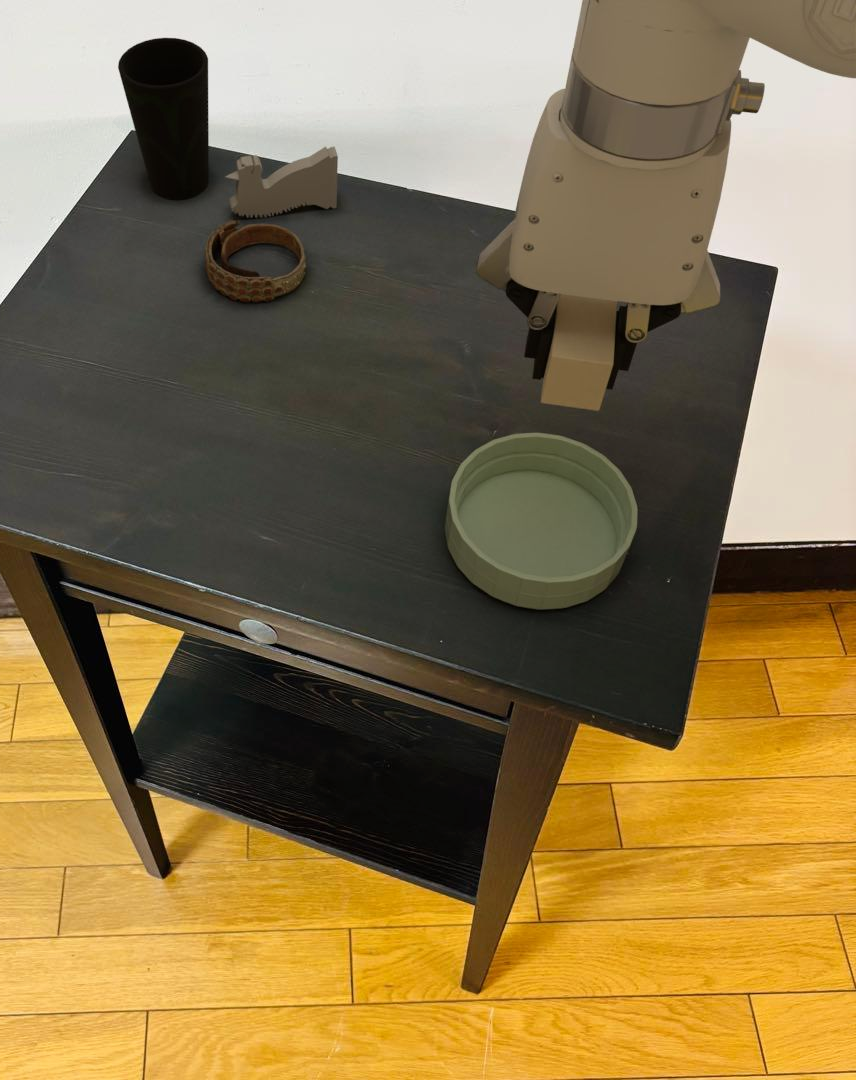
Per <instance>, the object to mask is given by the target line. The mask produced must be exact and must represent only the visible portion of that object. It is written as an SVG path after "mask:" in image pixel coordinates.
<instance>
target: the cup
mask: <svg viewBox="0 0 856 1080" xmlns="http://www.w3.org/2000/svg"><path fill="white" fill-rule="evenodd" d="M117 70H118V73H119V76H120V79H121V84H122V88H123V91H124V95H125V98H126V103H127V105H128V109H129V113H130V116H131V117H130V118H131V120H132V123H133V124H132V125H133V128H134V131H135V135H136V138H137V143H138V144H139V149H140V153H141V156H142V161H143V164H144V167H145V171H146V174H147V179H148V182H149V186H150V189H151V190H152V192H153V193H154V194H155V195H157V196H158V197H161V198H163V199H166V200H171V201H181V200H182V201H183V200H188V199H192V198H194V197H197V196H198V195H201V194H202V193H203V192H204V191H205V190H206V189H207V187H208V186H209V182H210V181H209V180H210V177H209V176H210V162H209V160H210V155H209V154H210V151H209V149H210V147H209V145H210V144H209V143H210V140H209V137H210V136H209V135H210V133H209V130H210V129H209V57H208V55H207V52H206V51H205V50H204V49H203V48H202V47H201V46H199V45H198V44H197V43H194V42H192V41H189V40H186V39H184V38H176V37H158V38H152V39H147V40H144V41H141V42H138V43H136V44H135V45H133V46H131V47H129V48H128V49H127V50H125V52H124V53H122V55H121V57H120V58H119V60H118V64H117Z"/></svg>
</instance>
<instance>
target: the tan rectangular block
mask: <svg viewBox="0 0 856 1080" xmlns="http://www.w3.org/2000/svg"><path fill="white" fill-rule="evenodd" d="M617 311H618V301H612V300H604V299H596V298H588V297H580V296H573V295H565V294H561V295H560V298H559V300H558V302H557V309H556V318H555V327H554V335H553V340H552V344H551V349H550V353H549V357H548V362H547V366H546V370H545V374H544V378H542V387H541V396H540V403H541V404H546V405H553V406H559V407H560V406H561V407H568V408H573V409H582V410H589V411H596V412H599V411H600V409H601V406H602V402H603V399H604V396H605V393H606V391H607V389H606V387H607V383H608V380H609V377H610V374H611V370H612V367H613V362H614V346H615V329H616V313H617Z"/></svg>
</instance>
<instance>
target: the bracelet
mask: <svg viewBox="0 0 856 1080" xmlns="http://www.w3.org/2000/svg"><path fill="white" fill-rule="evenodd" d="M240 223H241V222H240V220H234V219H232V220H229V221H227V222H226V223H221V224H220V225H218V226H217V228H216V229H214V230H213V231H212V232H211V233H210V235H209V237H208V238H207V239H206V244H205V247H204V260H205V270H206V275H207V278H208V281H209V282H210V283H211V286H212V287H213V288H214V289H215V290H216V291H219V292H220V293H221V294H222V296H226V297H227V296H228V297H229V298H230V299H231V300H234V301H237V300H239V301H240V302H245V303H250V302H253V303H255V304H257V303H258V304H259V303H260V302H267V303H268V302H271V301H273V300H274V299H275V298H276V297H279V296H282V295H285V294H286V295H287V294H288V293H290V292H293V291H294V290H295V289H296V288H297V287H299V285H301V283H302V281H303V279H304V277H305V275H306V272H305V269H307V266H306V265H307V263H306V260H307V258H306V257H307V255H306V254H305V248H304V245H303V244H302V242H301V240H300V238H299V237H298V236H297V235H296V234H295V233H294V232H292V231H291V230H290V229H288V228H287V227H283V226H280V225H278V224H273V223H272V224H271V223H251V224H246V225H243V226H242V227H240V228H237V227H239V226H240ZM262 243H263V244H264V243H268V244H269V243H270V244H276V245H280V246H283V247H285V248H286V249H288V250H291V251H292V252H293V253H294V254H295V256H297V259H298V261H299V263H298V265H297V266H296V267H295V268H293V270H292V271H290V272H289V273H287V274H285V275H281V276H277V277H276V276H275V277H271V276H267V275H266V276H261V275H260V274H259V272H258V271H255V270H251V269H245V268H242V267H239V266H236V265H232V264H230V263H228V262H227V260H228V258H229V256H230V255H232V254H233V253H235V252H236V251H238V250H240V249H242V248H244V247H246V246H250V245H254V244H262ZM219 255H220V262H221V263H220V264H221V266H219V264H217V262H216V261H215V260H216V258H217V257H218V256H219Z"/></svg>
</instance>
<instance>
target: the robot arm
mask: <svg viewBox="0 0 856 1080" xmlns="http://www.w3.org/2000/svg"><path fill="white" fill-rule="evenodd" d="M575 32H576V33H575V37H574V42H573V47H572V51H571V55H570V61H569V62H570V63H569V67H568V73H567V77H566V82H565V87H564V88H561V89H558V90H557V91H555V92H554V93H553V94H552V95H550V97H549V98H548V100H547V102H546V104H545V106H544V108H543V111H542V113H541V116H540V118H539V121H538V123H537V126H536V129H535V132H534V135H533V138H532V141H531V144H530V148H529V152H528V155H527V159H526V163H525V166H524V171H523V175H522V180H521V184H520V188H519V193H518V197H517V202H516V206H515V211H514V217H513V220H512V221H511V222H509V224H508V225H506V227H505V228H504V229H503V230H502V231H501V232H500V233H499V234H498V235H497V236H496V237H494V239H493V240H492V241H491V242H490V243H489V244H488V245H487V246H486V247H485V248H484V249H483V250H482V251H481V252H480V253H479V255H478V258H477V263H476V269H475V274H476V275H477V277H478V278H480V279H482V280H483V281H484V282H486V283H487V284H488V285H489V284H490V285H491V286H492V287H494V288H496V289H497V290H499V291H500V290H502V291H503V292H505V296H506V297H507V298H508V300H510V301H511V303H513V305H514V306H515V307H516V308H517V309H518V310H519V311H520V312H521V314H523V315H524V316H525V317H526V318H527V320H526V323H527V326H528V331H527V336H526V341H525V347H524V354H523V355H524V356H523V357H524V358H527V359H533V360H534V361H533V368H532V369H533V370H532V376H531V377H532V380H536V381H537V380H538V381H541V380H542V379H543V378H544V374H545V370H546V366H547V362H548V357H549V353H550V349H551V344H552V340H553V335H554V327H555V318H556V309H557V302H558V300H559V298H560V295H561V294H565V295H573V296H580V297H588V298H596V299H604V300H612V301H617V302H619V303H620V302H621V303H626V305H619V308H618V309H617V313H616V329H615V346H614V362H613V367H612V370H611V374H610V377H609V380H608V383H607V387H606V390H610V391H611V390H613V389H614V386H615V383H616V380H617V376H618V373H619V371H623V372H628V371H629V369H630V368H631V367H630V366H631V364H632V361H633V357H634V354H635V352H636V348H637V345H638V343H642V342H643V341H646V339H647V337H648V333H649V332H651V331H653V330H656V329H658V328H659V327H661V326H664V325H667V324H668V323H670V322H672V321H675V320H676V319H678V318H679V317H680V316H681V314H685V313H686V314H690V313H694V312H698V311H702V310H705V309H709V308H712V307H715V306H717V305H719V304H720V302H721V283H720V280H719V277H718V274H717V272H716V269H715V266H714V264H713V261H712V259H711V256H710V253H709V250H708V248H709V245H710V242H711V237H712V234H713V231H714V225H715V222H716V218H717V214H718V210H719V207H720V202H721V197H722V192H723V186H724V181H725V176H726V171H727V165H728V158H729V153H730V152H729V151H730V144H731V136H732V120H731V118H732V117H733V115H739V116H740V115H742V113H748V114H749V113H750V114H758V113H759V111H760V109H761V106H762V103H763V98H764V94H765V83H764V82H755V81H750V79H749V78H747V77H742V70H741V69H740V68H741V65H742V62H743V59H744V56H745V53H746V50H747V47H748V45H749V41H750V39H752V40H754V41H756V42H757V43H760V44H761V45H763V46H766V47H768V48H769V49H771V50H774V51H776V52H778V53H779V54H782V55H783V56H785V57H787V58H790V59H791V60H794V61H796V62H798V63H801V64H802V65H805V66H807V67H809V68H812V69H815V70H818V71H820V72H823V73H826V74H829V75H834V76H838V77H842V78H848V79H856V0H582V1H581V5H580V11H579V15H578V22H577V26H576V31H575Z"/></svg>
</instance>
